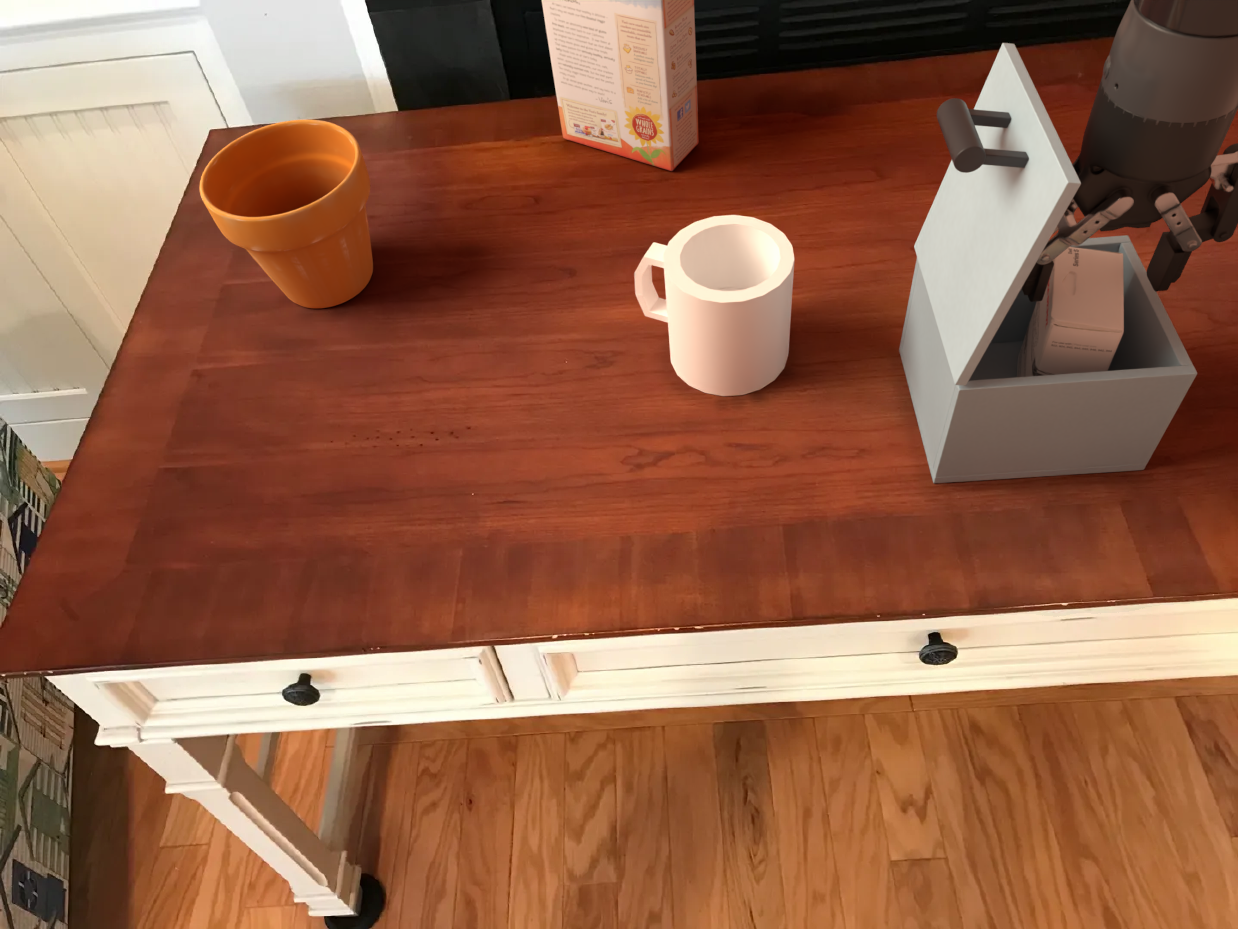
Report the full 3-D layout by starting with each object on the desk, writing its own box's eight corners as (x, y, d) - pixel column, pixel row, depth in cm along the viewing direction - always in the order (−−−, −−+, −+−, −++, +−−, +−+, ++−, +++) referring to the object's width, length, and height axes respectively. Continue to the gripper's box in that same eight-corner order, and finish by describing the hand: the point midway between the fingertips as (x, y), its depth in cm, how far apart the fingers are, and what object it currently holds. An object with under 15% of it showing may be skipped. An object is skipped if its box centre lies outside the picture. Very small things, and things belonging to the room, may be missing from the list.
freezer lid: (1014, 43, 61) (934, 35, 61) (1081, 183, 53) (989, 175, 52) (923, 247, 74) (857, 242, 74) (966, 385, 66) (890, 381, 65)
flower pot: (235, 329, 93) (173, 219, 82) (282, 230, 101) (230, 119, 91) (379, 331, 91) (334, 218, 80) (414, 230, 99) (377, 116, 89)
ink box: (1079, 442, 75) (1128, 333, 66) (1010, 432, 76) (1049, 323, 67) (1080, 361, 80) (1126, 249, 70) (1016, 353, 81) (1053, 241, 72)
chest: (1087, 336, 82) (1128, 234, 74) (1143, 470, 74) (1197, 373, 65) (898, 349, 83) (917, 251, 75) (933, 483, 75) (959, 389, 66)
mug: (615, 365, 85) (602, 272, 77) (665, 289, 90) (658, 194, 82) (761, 410, 81) (764, 317, 72) (805, 328, 86) (813, 231, 77)
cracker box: (701, 143, 103) (695, -62, 87) (672, 175, 101) (660, -30, 84) (592, 110, 109) (566, -88, 92) (561, 139, 106) (529, -59, 89)
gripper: (1065, 130, 55) (1004, 335, 68) (1332, 104, 54) (1218, 317, 67) (1029, 56, 59) (978, 262, 72) (1274, 31, 58) (1178, 244, 71)
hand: (1093, 288), depth 69 cm, fingers open, 8 cm apart
